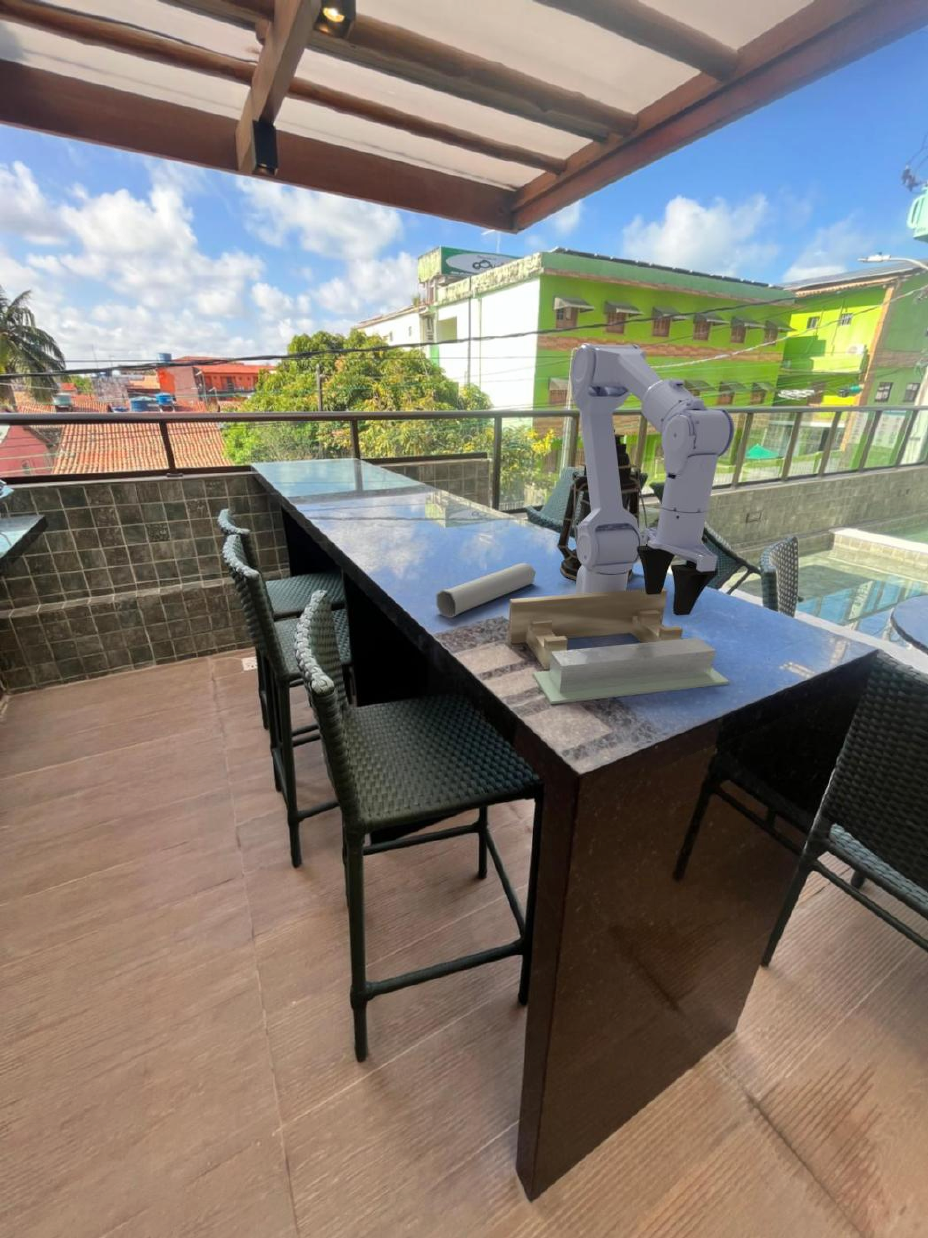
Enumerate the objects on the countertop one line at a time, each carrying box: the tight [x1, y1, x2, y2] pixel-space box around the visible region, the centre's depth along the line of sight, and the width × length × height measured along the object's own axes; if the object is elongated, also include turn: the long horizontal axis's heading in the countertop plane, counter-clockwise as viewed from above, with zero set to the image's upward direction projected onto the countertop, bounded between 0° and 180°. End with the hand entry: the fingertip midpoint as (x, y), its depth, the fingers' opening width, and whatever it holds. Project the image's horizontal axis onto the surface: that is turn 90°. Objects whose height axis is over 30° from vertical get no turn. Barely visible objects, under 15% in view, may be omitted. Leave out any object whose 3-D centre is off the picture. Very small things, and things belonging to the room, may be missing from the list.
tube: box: [435, 562, 537, 619], centre depth 97 cm, size 5×5×25 cm
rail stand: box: [508, 587, 684, 671], centre depth 78 cm, size 10×26×7 cm, turn 101°
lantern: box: [556, 428, 648, 582], centre depth 106 cm, size 20×16×30 cm
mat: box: [531, 667, 730, 705], centre depth 70 cm, size 8×26×1 cm, turn 101°
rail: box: [549, 637, 717, 693], centre depth 69 cm, size 4×22×4 cm, turn 101°
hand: (666, 603), depth 72 cm, fingers open, 7 cm apart
